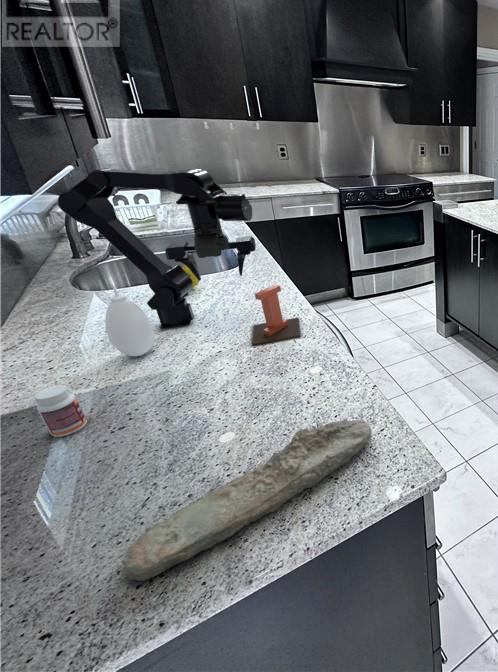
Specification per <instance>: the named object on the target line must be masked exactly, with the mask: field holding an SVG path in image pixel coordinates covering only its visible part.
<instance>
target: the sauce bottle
mask: <svg viewBox="0 0 498 672" xmlns="http://www.w3.org/2000/svg"><path fill="white" fill-rule="evenodd" d="M112 288H113V292H114V295H113V296H111V297H110V299H109V300H110V303H109V304H108V306H107V309H106V311H105V317H104V325H105V326H104V327H105V332H106V335H107V337H108V340H109V342H110V344H111V345H112V346H113V347H114V349H116V350H117V351H119V352H120V353H121V354H123V355H125V356H130V357H141V356H144V355H145V354H147V353H148V352H149V351H150V349H152V348H153V346H154V343H155V337H156V336H155V335H156V334H155V333H156V332H155V329H154V325H153V323H152V322H151V320H150V318H149V316H148V315H147V313H146V311H144V310H143V309H142V308H141V307H140V306H139V305H138V304H137V303H135V302H134V301H133V300H131V299H129V298H127V295H125V294H119V293H118V290H117V289H116V286H114V285H113V286H112Z"/></svg>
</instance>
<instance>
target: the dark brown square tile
mask: <svg viewBox="0 0 498 672" xmlns="http://www.w3.org/2000/svg"><path fill="white" fill-rule="evenodd" d="M286 320H287V322H288V326H286V327H284V328H282V329H281V330H279V331H277V332H276V333H274V334H272V335H270V336H267V335H264V332H263V330H264V329H266V328H268V327H267V325H266V322H264V323H258V324H253V329H252V342H251V345H252V346H253V347H254V346H259V345H266V344H270V343H275V342H280V341H286V340H290V339H291V340H292V339H297V338H301V337H302V336H301V329H300V320H299V317H294V318H293V317H292V318H288V319H286Z"/></svg>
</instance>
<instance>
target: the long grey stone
mask: <svg viewBox="0 0 498 672" xmlns="http://www.w3.org/2000/svg"><path fill="white" fill-rule="evenodd" d="M371 439H372V428H371V426H370V424H369V423H368V422H366V420H361V419H354V420H353V419H352V420H347V419H343V420H338V421H330V422H328V423H325V424H324V425H322V426H318V427H314V428H311V429H308V428H306V427H305V428H302V429H298V430H297V431H296V432H295V433H294V435H293V436H292V438H291V440H290V442H288V444H286V445H285V446H284V448H283V449H281V450H279V451H277V452H274V454H272V455H271V456H270V458H269V459H268V460H267V461H266V463H264V464H263V465H262V464H261V465H259V466H257V467H256V468H254V469H253V470H252V471H251V470H250V471H249V472H245V473H244V474H243V475H240V476H239V477H236V478H234V479H232V480H230V481H228V482H226V484H224V485H223V486H221V487H220V488H217V489H216V490H212V491H210V492H209V493H207V494H206V495H205V496H204V495H203V496H201V497H200V498H198V499H197V500H196V501H195V502H193V503H191V504H188V505H186V506H184V507H182V508H181V509H179V510H177V511H176V512H174V514H173V515H171V516H170V517H167V518H166V519H165V520H163V521H159V522H157V523H155V524H154V525H152V526H148V527H147V528H145V532H144V533H143V534H142V535H140V536H139V537H138V538H137V539H136V540H134V541H133V542H132V543H131V545H130V546H129V547H127V551H126V553H125V555H124V557H123V559H122V560H121V563H122V565H123V566H124V567H123V575H125V576H126V578H127V580H129V581H137V582H145V581H147V580H149V579H151V578H154V577H156V576H159V575H160V574H162V573H163V572H165V571H168V569H170V568H171V567H173V566H176V565H178V564H180V563H183V562H185V561H187V560H190V559H191V558H193V557H194V556H196V555H197V554H199V553H200V552H202V551H205V550H208V549H210V548H212V547H213V546H215V545H216V544H218V543H220V542H222V541H225V540H227V539H228V538H230V537H232V536H233V535H235V534H236V533H237V532H240V530H241V529H242V528H243V527H245V526H248V525H250V524H251V523H255V522H256V521H258V520H259V519H261V518H262V517H263V516H265V515H268V514H269V513H273V512H275V511H277V510H278V509H279V508H281V506H282V505H283V504H285V503H286V502H287V501H289V500H290V499H292V498H294V497H296V495H299V494H301V493H302V492H303V490H305V489H307V488H308V489H309V488H312V487H314V486H315V485H316V484H317V483H319V482H321V481H322V479H324V478H326V476H328V475H330V474H332V473H333V472H334V471H335V470H337V469H338V468H340V467H342V466H343V465H346V464H347V463H348V462H349V461H351V459H352V457H354V456H355V455H357V454H358V453H359V452H361V451H362V450H363V449H364V448H365V446H366V445H367V444H368V443H370V441H371Z"/></svg>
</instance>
